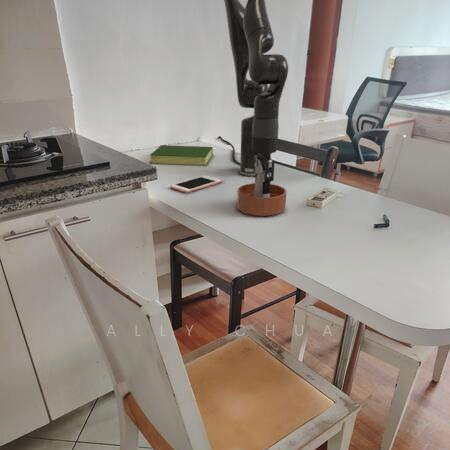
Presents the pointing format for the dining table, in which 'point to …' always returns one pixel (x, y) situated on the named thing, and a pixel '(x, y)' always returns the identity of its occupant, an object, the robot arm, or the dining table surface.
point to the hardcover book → (182, 155)
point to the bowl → (261, 200)
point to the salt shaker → (259, 186)
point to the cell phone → (195, 184)
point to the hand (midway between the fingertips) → (262, 189)
